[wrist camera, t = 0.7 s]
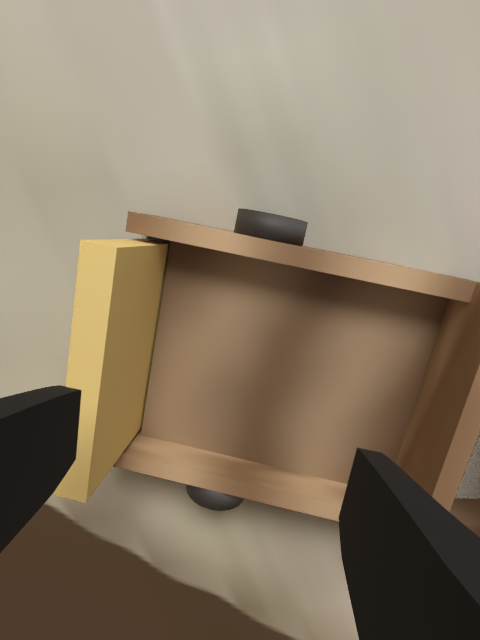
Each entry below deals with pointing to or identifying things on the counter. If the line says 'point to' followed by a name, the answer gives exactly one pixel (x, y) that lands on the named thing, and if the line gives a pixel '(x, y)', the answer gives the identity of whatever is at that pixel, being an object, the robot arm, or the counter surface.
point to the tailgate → (112, 351)
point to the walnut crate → (467, 513)
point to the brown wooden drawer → (302, 368)
